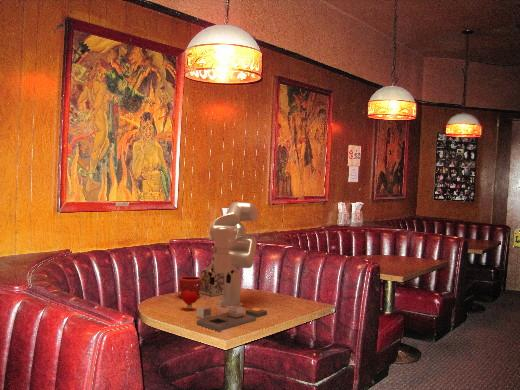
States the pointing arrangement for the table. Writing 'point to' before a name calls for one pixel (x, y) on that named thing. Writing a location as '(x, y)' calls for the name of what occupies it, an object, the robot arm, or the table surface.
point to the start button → (256, 310)
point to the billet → (203, 312)
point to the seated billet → (236, 312)
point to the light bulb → (189, 298)
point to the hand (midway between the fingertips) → (220, 283)
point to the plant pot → (190, 284)
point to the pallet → (224, 321)
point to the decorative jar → (212, 289)
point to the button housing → (256, 313)
